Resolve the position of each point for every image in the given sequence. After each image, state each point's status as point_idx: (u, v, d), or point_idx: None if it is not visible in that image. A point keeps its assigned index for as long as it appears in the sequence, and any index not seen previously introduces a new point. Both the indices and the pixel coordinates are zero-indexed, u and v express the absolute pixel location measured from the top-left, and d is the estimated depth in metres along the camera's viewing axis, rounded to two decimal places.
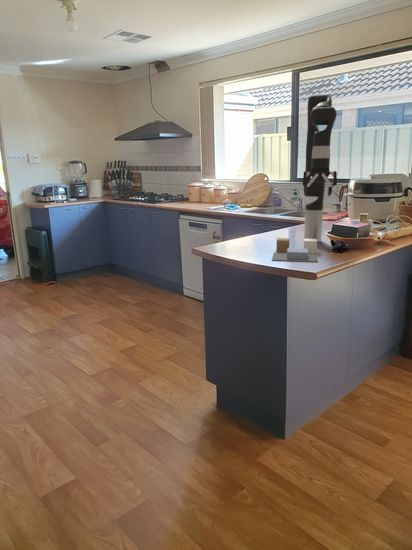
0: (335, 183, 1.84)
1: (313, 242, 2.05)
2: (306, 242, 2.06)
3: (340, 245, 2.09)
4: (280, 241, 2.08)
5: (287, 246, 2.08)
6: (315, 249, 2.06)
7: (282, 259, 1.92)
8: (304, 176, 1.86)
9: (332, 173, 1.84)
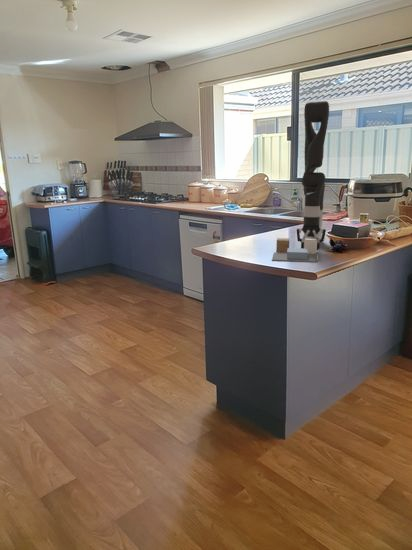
0: (322, 240, 2.06)
1: (313, 242, 2.05)
2: (306, 242, 2.06)
3: (339, 245, 2.09)
4: (280, 241, 2.08)
5: (287, 246, 2.08)
6: (315, 249, 2.06)
7: (282, 259, 1.92)
8: (297, 233, 2.07)
9: (322, 230, 2.05)
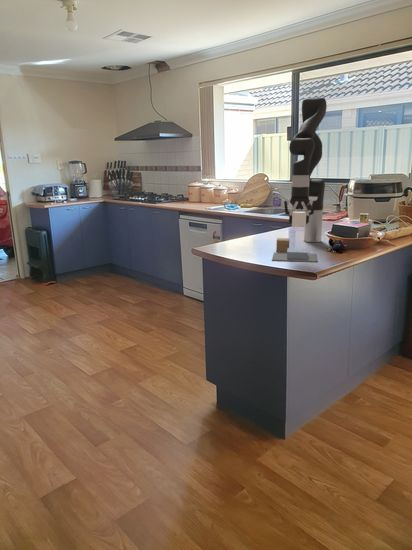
0: (312, 212, 1.90)
1: (302, 214, 1.89)
2: (294, 214, 1.90)
3: (339, 245, 2.09)
4: (280, 241, 2.08)
5: (287, 246, 2.08)
6: (304, 222, 1.90)
7: (282, 259, 1.92)
8: (285, 205, 1.91)
9: (311, 202, 1.90)
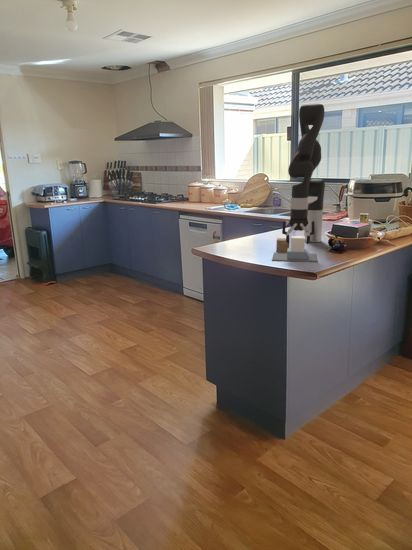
0: (313, 232, 1.92)
1: (301, 239, 1.92)
2: (293, 239, 1.93)
3: (338, 245, 2.08)
4: (280, 241, 2.08)
5: (287, 246, 2.08)
6: (303, 247, 1.93)
7: (282, 259, 1.92)
8: (283, 225, 1.94)
9: (310, 223, 1.92)
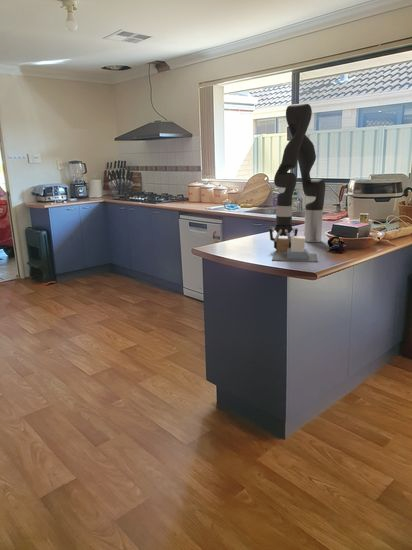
0: None
1: (301, 239, 1.92)
2: (293, 239, 1.93)
3: (338, 246, 2.08)
4: (280, 240, 2.08)
5: (287, 246, 2.08)
6: (303, 247, 1.93)
7: (282, 259, 1.92)
8: (270, 232, 2.10)
9: (294, 230, 2.08)
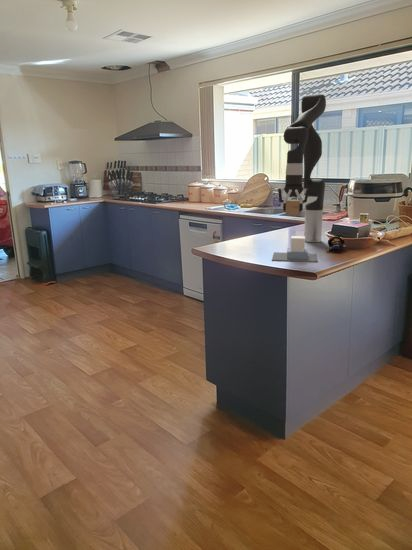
0: (305, 200, 1.93)
1: (301, 239, 1.92)
2: (293, 239, 1.93)
3: (338, 246, 2.07)
4: (289, 201, 1.93)
5: (297, 207, 1.93)
6: (303, 247, 1.93)
7: (282, 259, 1.92)
8: (279, 193, 1.95)
9: (305, 190, 1.93)
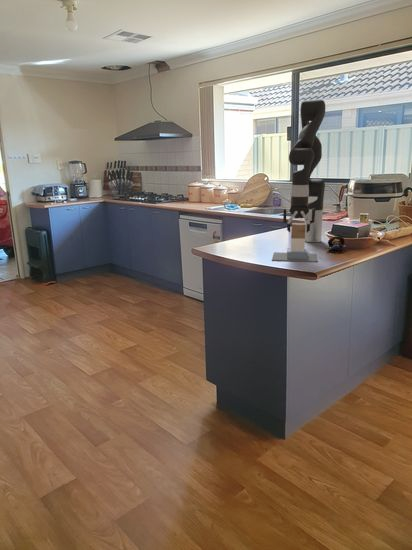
0: (313, 220, 1.91)
1: (301, 239, 1.92)
2: (293, 239, 1.93)
3: (337, 246, 2.07)
4: (295, 225, 1.91)
5: (303, 231, 1.91)
6: (303, 247, 1.93)
7: (282, 259, 1.92)
8: (284, 213, 1.93)
9: (311, 211, 1.91)
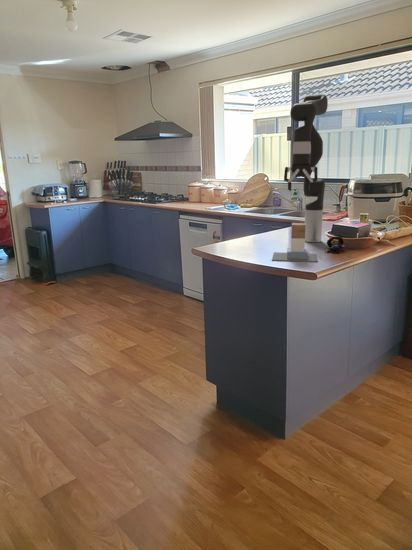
0: (316, 178, 1.86)
1: (301, 239, 1.92)
2: (293, 239, 1.93)
3: (337, 246, 2.07)
4: (295, 225, 1.91)
5: (303, 231, 1.91)
6: (303, 247, 1.93)
7: (282, 259, 1.92)
8: (285, 171, 1.88)
9: (313, 168, 1.86)
